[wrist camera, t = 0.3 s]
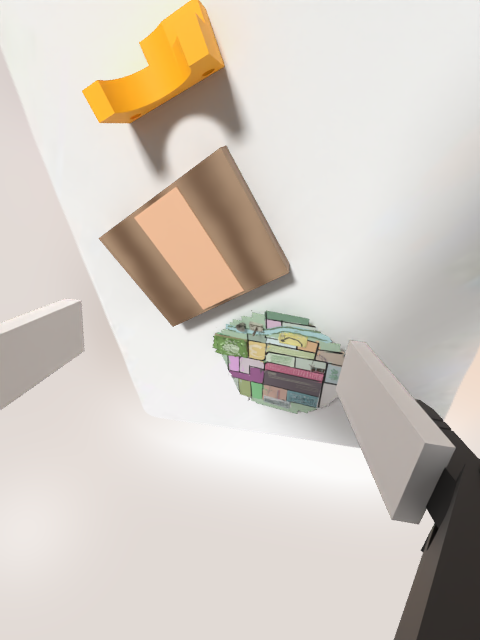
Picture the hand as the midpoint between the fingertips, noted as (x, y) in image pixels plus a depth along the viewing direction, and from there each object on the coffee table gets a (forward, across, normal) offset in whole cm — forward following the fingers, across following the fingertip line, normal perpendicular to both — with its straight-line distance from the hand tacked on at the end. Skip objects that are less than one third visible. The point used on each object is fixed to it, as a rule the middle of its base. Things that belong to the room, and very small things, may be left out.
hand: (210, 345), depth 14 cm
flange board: (+27, -7, +2) cm, 28 cm away
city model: (+32, +7, -16) cm, 37 cm away
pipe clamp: (+23, -11, +19) cm, 32 cm away
